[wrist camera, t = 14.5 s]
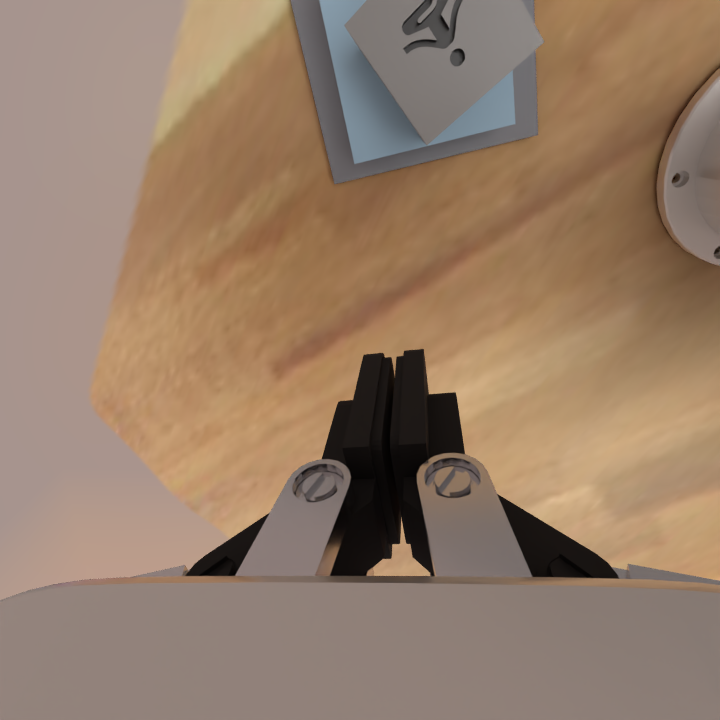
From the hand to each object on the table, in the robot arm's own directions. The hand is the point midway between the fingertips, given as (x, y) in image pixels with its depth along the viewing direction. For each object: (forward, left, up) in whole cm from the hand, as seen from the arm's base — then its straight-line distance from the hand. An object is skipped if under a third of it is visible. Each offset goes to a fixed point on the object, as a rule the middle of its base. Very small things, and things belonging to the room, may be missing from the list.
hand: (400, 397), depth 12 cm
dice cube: (-3, -9, -14) cm, 17 cm away
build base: (-2, -10, -19) cm, 21 cm away
